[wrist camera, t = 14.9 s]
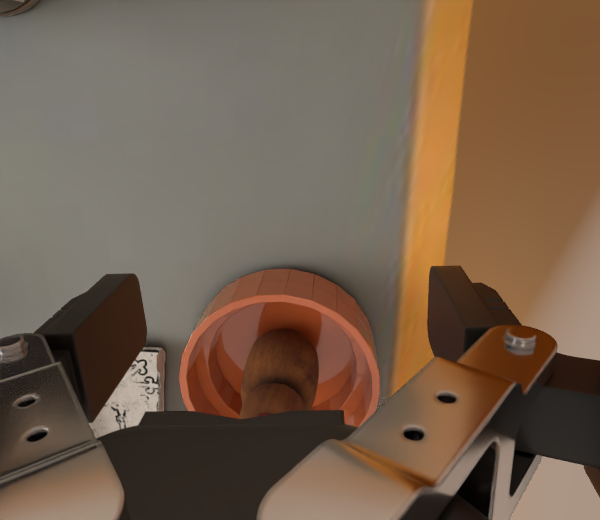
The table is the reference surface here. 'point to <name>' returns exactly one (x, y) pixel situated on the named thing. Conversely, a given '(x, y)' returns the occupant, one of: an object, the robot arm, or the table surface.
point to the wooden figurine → (279, 374)
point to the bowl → (275, 315)
